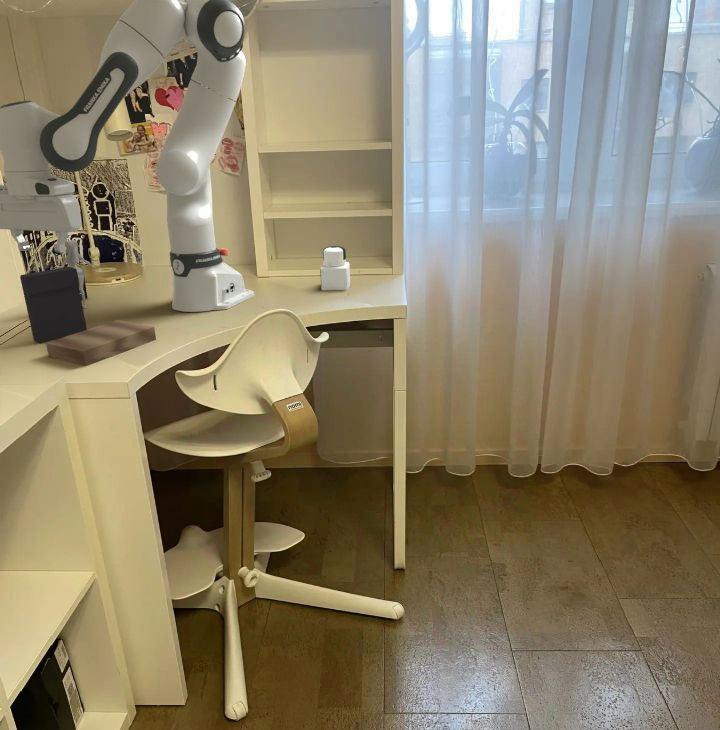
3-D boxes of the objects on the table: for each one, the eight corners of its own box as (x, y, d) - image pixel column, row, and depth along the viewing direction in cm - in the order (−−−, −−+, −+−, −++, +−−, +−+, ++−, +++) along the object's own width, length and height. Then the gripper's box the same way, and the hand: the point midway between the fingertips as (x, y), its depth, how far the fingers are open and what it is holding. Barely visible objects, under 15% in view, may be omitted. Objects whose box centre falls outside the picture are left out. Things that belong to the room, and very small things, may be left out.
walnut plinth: (119, 332, 151) (117, 319, 150) (156, 339, 145) (154, 326, 144) (48, 356, 136) (45, 342, 135) (86, 365, 130) (83, 351, 129)
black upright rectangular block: (80, 329, 154) (68, 265, 149) (88, 332, 152) (76, 268, 146) (32, 340, 147) (17, 274, 142) (40, 344, 144) (25, 277, 139)
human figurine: (100, 303, 176) (88, 235, 169) (108, 306, 173) (96, 237, 167) (56, 314, 167) (42, 243, 161) (63, 316, 165) (49, 244, 158)
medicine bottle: (325, 287, 184) (322, 244, 180) (350, 287, 183) (348, 244, 179) (321, 294, 177) (318, 249, 173) (347, 294, 177) (345, 249, 172)
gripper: (-22, 185, 138) (-8, 251, 143) (59, 187, 132) (71, 256, 137) (2, 183, 143) (14, 246, 148) (80, 184, 138) (91, 250, 142)
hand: (42, 251), depth 142 cm, fingers open, 8 cm apart
